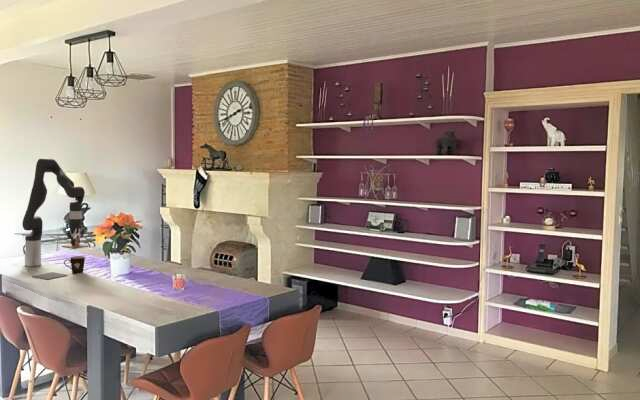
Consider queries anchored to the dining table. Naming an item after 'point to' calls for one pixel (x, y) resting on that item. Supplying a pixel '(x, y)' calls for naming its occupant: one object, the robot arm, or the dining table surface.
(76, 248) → the lid
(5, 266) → the dining table surface
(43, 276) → the mat
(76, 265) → the coffee mug
